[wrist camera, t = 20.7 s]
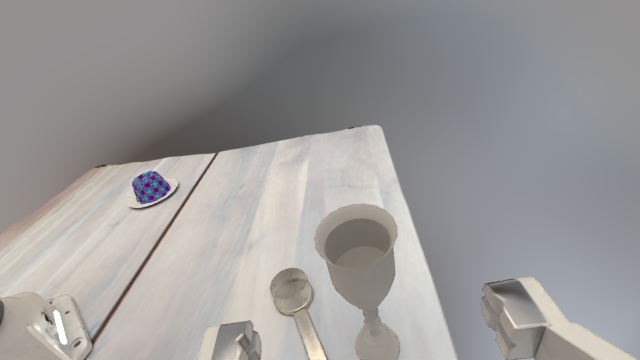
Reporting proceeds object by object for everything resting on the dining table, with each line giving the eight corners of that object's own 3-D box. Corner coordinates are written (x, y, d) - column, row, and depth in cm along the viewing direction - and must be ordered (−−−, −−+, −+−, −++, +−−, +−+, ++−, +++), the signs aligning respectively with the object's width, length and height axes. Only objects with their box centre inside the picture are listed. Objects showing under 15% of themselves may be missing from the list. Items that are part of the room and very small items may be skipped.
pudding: (128, 195, 78) (117, 178, 75) (175, 174, 82) (166, 158, 79) (130, 217, 69) (117, 199, 66) (183, 193, 73) (172, 175, 70)
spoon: (369, 412, 30) (368, 408, 29) (319, 442, 29) (317, 438, 28) (301, 266, 47) (299, 262, 46) (268, 281, 46) (266, 277, 45)
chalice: (404, 388, 31) (391, 274, 21) (340, 371, 33) (301, 262, 24) (410, 321, 36) (402, 205, 26) (355, 311, 39) (329, 201, 29)
